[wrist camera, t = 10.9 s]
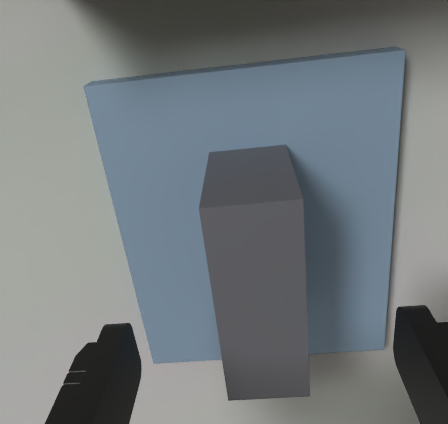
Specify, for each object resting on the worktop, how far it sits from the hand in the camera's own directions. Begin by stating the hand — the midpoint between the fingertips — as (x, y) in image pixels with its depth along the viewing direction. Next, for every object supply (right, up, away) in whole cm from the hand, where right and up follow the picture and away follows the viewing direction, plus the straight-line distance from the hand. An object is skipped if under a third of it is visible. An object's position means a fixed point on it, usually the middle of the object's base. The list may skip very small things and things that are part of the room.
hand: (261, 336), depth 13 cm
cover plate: (0, +3, +7) cm, 8 cm away
